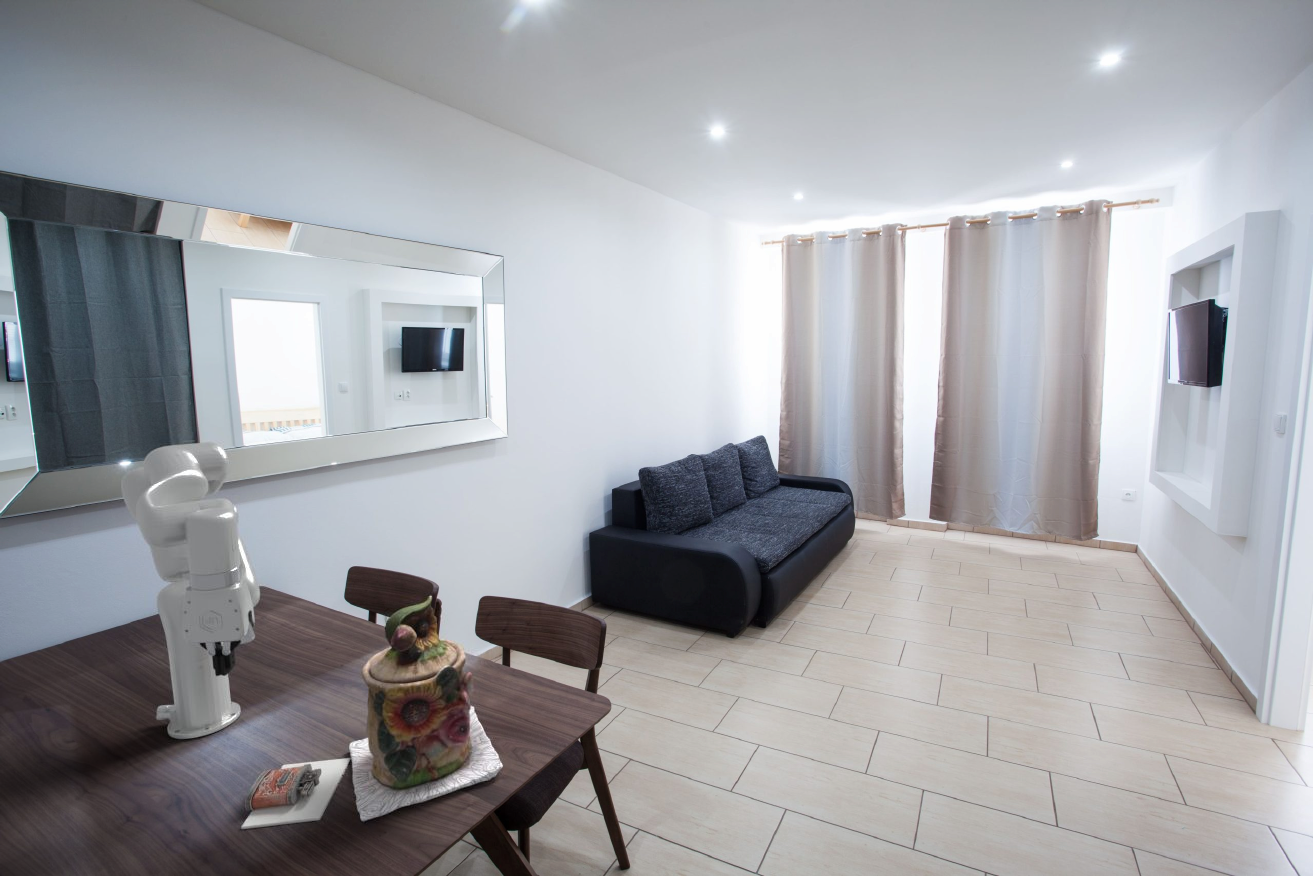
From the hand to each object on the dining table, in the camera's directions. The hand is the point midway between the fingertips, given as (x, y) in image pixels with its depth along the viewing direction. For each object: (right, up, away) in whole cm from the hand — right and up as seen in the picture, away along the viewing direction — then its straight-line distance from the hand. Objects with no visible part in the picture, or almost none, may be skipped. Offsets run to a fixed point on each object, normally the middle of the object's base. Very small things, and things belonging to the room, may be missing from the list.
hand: (225, 671), depth 115 cm
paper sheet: (+16, -20, -4) cm, 26 cm away
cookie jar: (+35, -19, +4) cm, 40 cm away
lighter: (+9, -19, -6) cm, 22 cm away
